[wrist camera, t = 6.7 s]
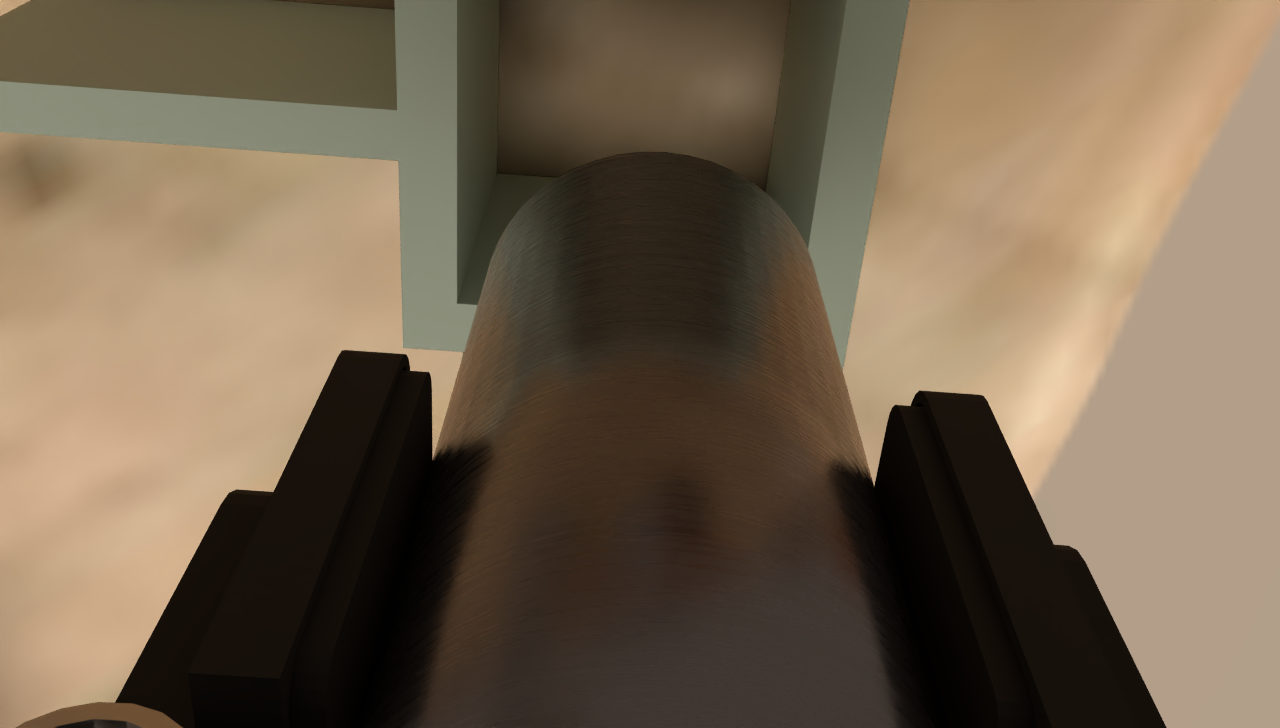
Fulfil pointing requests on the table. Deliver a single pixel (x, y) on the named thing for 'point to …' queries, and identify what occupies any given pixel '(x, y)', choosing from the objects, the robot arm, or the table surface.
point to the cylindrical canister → (649, 484)
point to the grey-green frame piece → (428, 115)
